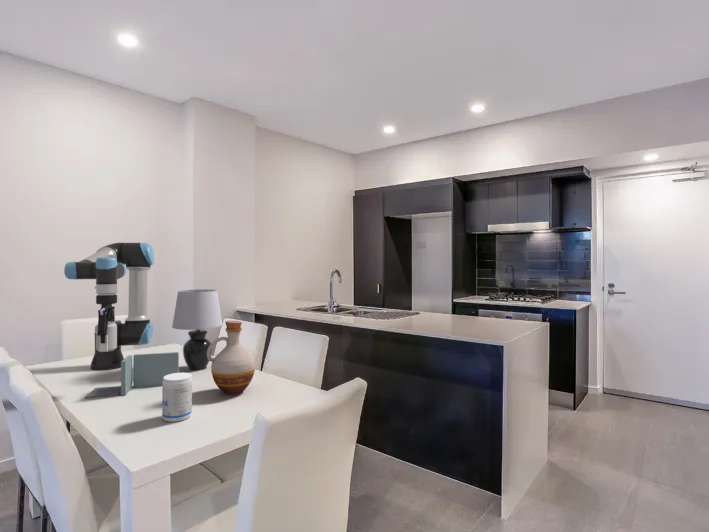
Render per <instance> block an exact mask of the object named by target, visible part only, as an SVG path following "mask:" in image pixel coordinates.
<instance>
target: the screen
mask: <svg viewBox="0 0 709 532" xmlns="http://www.w3.org/2000/svg"><path fill="white" fill-rule="evenodd" d="M179 361H180V355H179V351H173V352H155V353H154V352H153V353H135V354H133V355H131V354H130V355H126V357H124V360H122V361H121V367H120V386H121V394H120V397H122V396H123V397H125V396H127V394H128V393H129V392H130V390H131V389H132V388H141V387H142V388H143V387H154V386H155V387H156V386H163V377H164V376H166V375H168V374H173V373H180V369H179V366H180V362H179Z"/></svg>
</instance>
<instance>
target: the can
mask: <svg viewBox="0 0 709 532" xmlns="http://www.w3.org/2000/svg"><path fill="white" fill-rule="evenodd" d="M96 325H97V326H96ZM96 325H95V326H96V350H97V351H98V352H109V351H114V350H115V349H116V348H117V325H116V324H115V322H114V321H108V327H107V335H108V351H100V336H97V334H98V324H96ZM102 332H103V331H102Z"/></svg>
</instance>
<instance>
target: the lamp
mask: <svg viewBox="0 0 709 532" xmlns="http://www.w3.org/2000/svg"><path fill="white" fill-rule="evenodd" d="M221 313H222V312H221V307H220V302H219V294H218V290H217V289H208V288H206V289H198V288H197V289H195V288H194V289H182V290H177V296H176V302H175V307H174V315H173V318H172V319H173V321H172V329H174V330H180V331H181V330H182V331H184V330H186V331H188V332H187V333H188V334H187V335H188V336H189V339H188V340H186V342H185V343H184V344H183V346H182V356H183V358H184V361H185V364H186V366H187V368H188V370H190V371H194V372H195V371H203V370H205V369H208V365H209V364H210V363H209V362H210V361H209V360H208V358H207V350H208V348H209V346H210V344H211V343H212V342H211V341H210V340H209V339H208V338H206V337H207V334H208V331H207V330H208V329H209V330H210V329H215V328H220V327H222V326H223V322H222V321H223V320H222V314H221ZM212 354H213V348H212V349H211V354H210V355H211V356H212Z"/></svg>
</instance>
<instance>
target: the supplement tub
mask: <svg viewBox="0 0 709 532" xmlns="http://www.w3.org/2000/svg"><path fill="white" fill-rule="evenodd" d="M192 376H193V375H192V373H189V372H179V373H173V374H168V375H166V376H164V377H163V385H161V386H162V387H161V388H162V396H161V397H162V398H161V399H162V401H161V402H162V404H161V405H162V409H161V412H162V413H161V416H162V420H163V421H165V422H170V423H175V422H181V421H184V420H187V419H188V418H190V417H191V415H192V413H193V412H192V411H193V410H192V406H193V404H192V403H193V377H192Z"/></svg>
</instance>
